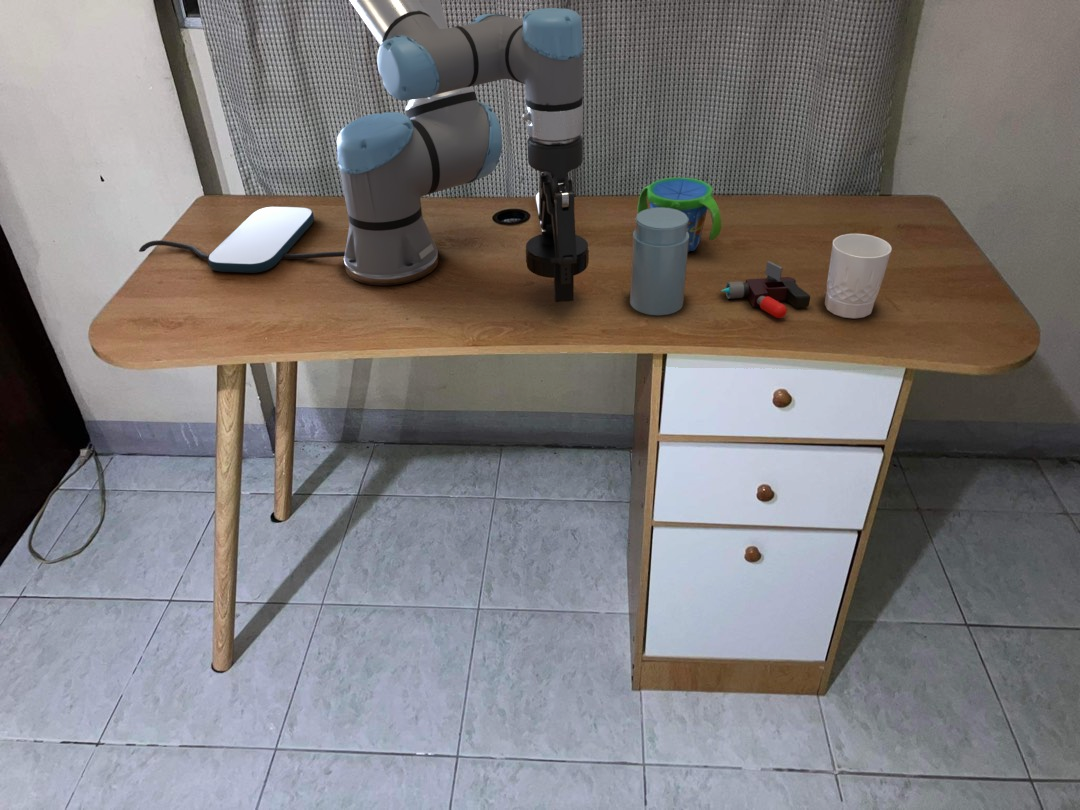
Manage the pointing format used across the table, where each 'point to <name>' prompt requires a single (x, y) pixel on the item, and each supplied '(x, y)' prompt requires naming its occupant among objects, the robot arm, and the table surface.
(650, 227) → the jar
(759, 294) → the toy gun
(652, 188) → the snack cup
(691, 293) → the table surface
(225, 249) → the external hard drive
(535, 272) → the lid
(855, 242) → the white cup
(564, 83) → the robot arm
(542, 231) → the marker
